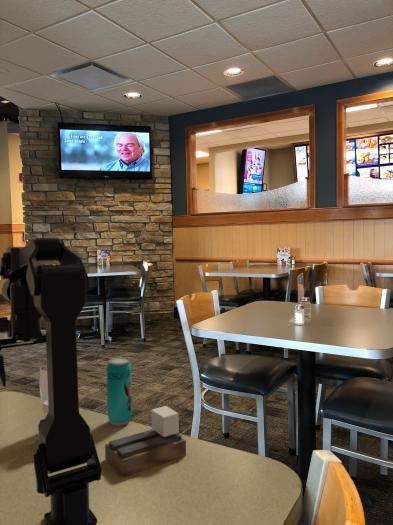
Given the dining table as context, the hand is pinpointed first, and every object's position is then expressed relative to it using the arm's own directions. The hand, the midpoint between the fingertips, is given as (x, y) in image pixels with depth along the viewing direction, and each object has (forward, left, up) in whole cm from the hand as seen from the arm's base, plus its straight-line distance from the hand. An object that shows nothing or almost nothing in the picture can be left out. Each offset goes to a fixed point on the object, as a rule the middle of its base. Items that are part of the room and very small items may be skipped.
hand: (27, 382), depth 90 cm
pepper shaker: (-1, -4, -15) cm, 15 cm away
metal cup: (+6, -7, -15) cm, 18 cm away
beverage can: (+2, -21, -15) cm, 26 cm away
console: (-17, -18, -15) cm, 29 cm away
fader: (-17, -23, -11) cm, 31 cm away
